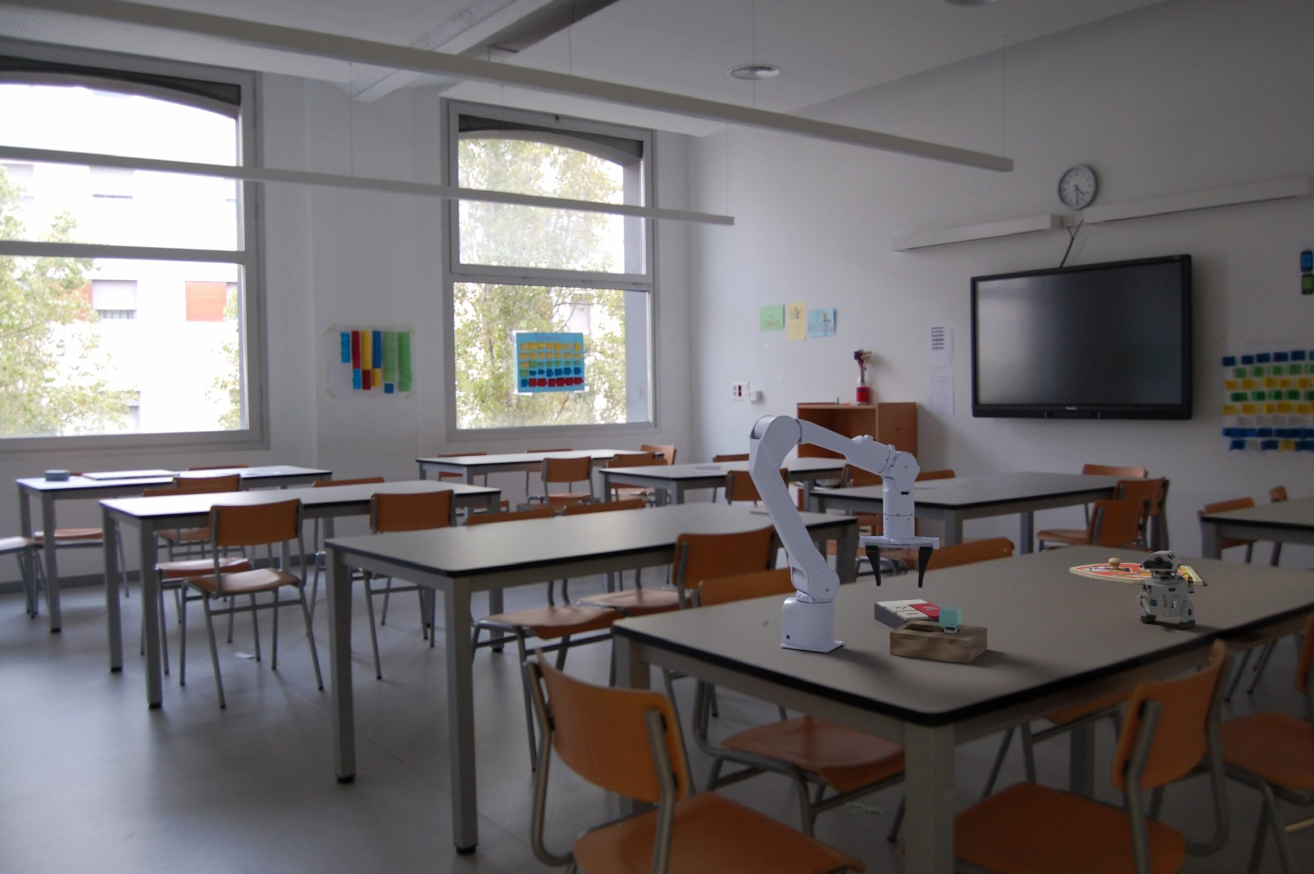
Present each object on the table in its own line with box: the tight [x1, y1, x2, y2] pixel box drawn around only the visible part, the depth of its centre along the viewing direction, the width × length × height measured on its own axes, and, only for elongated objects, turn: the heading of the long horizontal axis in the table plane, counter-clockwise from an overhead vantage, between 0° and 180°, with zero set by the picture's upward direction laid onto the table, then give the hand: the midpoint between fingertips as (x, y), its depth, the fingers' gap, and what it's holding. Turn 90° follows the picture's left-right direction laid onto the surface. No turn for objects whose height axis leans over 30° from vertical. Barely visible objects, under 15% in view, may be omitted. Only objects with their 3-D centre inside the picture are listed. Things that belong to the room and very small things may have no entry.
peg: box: [939, 606, 963, 634], centre depth 183 cm, size 4×4×8 cm
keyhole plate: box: [889, 620, 988, 665], centre depth 184 cm, size 14×12×4 cm
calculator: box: [873, 598, 942, 630], centre depth 207 cm, size 11×4×15 cm
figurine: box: [1135, 549, 1197, 630], centre depth 201 cm, size 9×12×15 cm
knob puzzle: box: [1069, 557, 1204, 587], centre depth 261 cm, size 29×30×4 cm
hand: (899, 586), depth 193 cm, fingers open, 7 cm apart
